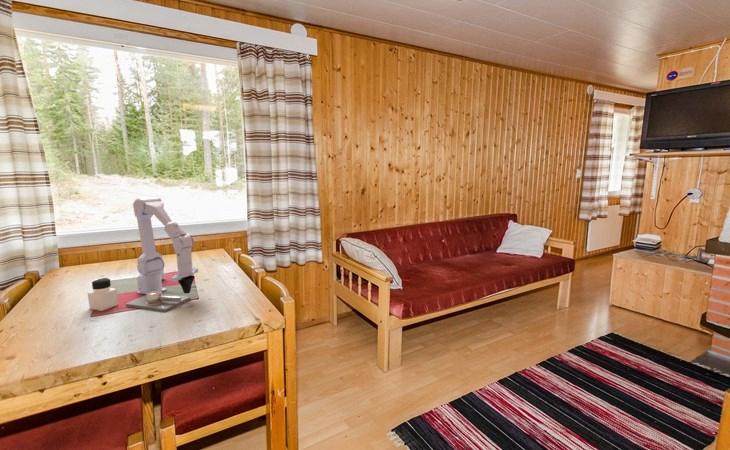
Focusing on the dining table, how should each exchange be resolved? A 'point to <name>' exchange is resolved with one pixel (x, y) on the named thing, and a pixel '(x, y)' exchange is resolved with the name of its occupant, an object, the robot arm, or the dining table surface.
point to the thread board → (160, 306)
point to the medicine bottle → (102, 295)
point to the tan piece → (160, 297)
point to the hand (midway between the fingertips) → (187, 292)
